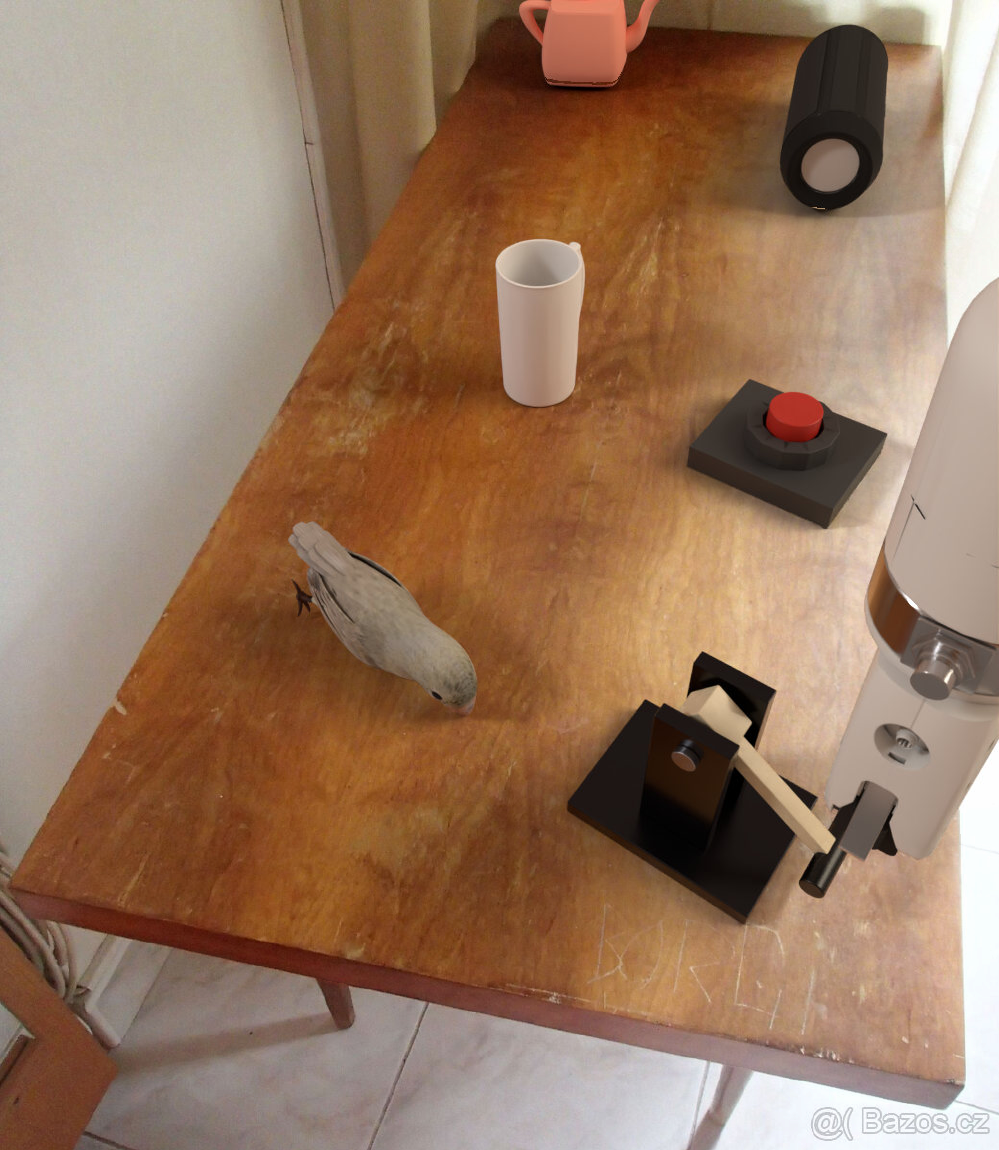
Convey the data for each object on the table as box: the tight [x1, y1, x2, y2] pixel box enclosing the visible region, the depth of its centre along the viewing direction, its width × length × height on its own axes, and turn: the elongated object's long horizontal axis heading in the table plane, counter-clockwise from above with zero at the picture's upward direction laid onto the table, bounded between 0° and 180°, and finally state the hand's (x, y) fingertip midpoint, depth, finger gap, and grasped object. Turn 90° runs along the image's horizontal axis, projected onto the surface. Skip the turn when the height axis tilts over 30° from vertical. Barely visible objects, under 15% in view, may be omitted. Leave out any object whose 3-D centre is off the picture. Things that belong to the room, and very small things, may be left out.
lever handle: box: [677, 685, 849, 899], centre depth 53 cm, size 12×5×2 cm
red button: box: [766, 391, 824, 443], centre depth 75 cm, size 4×4×2 cm
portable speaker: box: [779, 24, 889, 211], centre depth 105 cm, size 26×10×10 cm, turn 165°
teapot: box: [518, 0, 661, 88], centre depth 121 cm, size 12×18×10 cm, turn 81°
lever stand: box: [566, 650, 819, 926], centre depth 55 cm, size 12×9×12 cm
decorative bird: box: [287, 521, 478, 717], centre depth 65 cm, size 5×16×8 cm, turn 47°
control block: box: [686, 378, 888, 530], centre depth 77 cm, size 12×10×4 cm
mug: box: [495, 238, 586, 408], centre depth 82 cm, size 10×7×12 cm, turn 144°
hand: (869, 828), depth 50 cm, fingers closed
